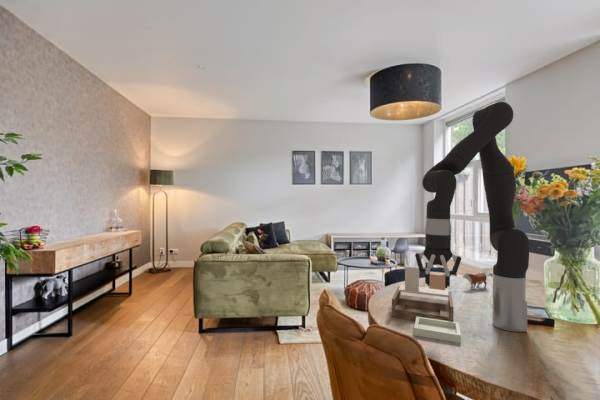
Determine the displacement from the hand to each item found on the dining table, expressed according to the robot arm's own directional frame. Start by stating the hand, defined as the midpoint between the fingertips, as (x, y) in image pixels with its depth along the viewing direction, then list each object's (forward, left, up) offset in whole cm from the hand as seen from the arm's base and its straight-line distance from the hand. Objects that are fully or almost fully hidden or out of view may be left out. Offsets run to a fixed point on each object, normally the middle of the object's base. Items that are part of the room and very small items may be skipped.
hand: (437, 286), depth 102 cm
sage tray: (0, 0, -15) cm, 15 cm away
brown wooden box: (+5, -18, -15) cm, 23 cm away
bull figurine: (-17, -66, -15) cm, 70 cm away
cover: (+5, -22, -8) cm, 24 cm away
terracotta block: (0, 0, 0) cm, 0 cm away
